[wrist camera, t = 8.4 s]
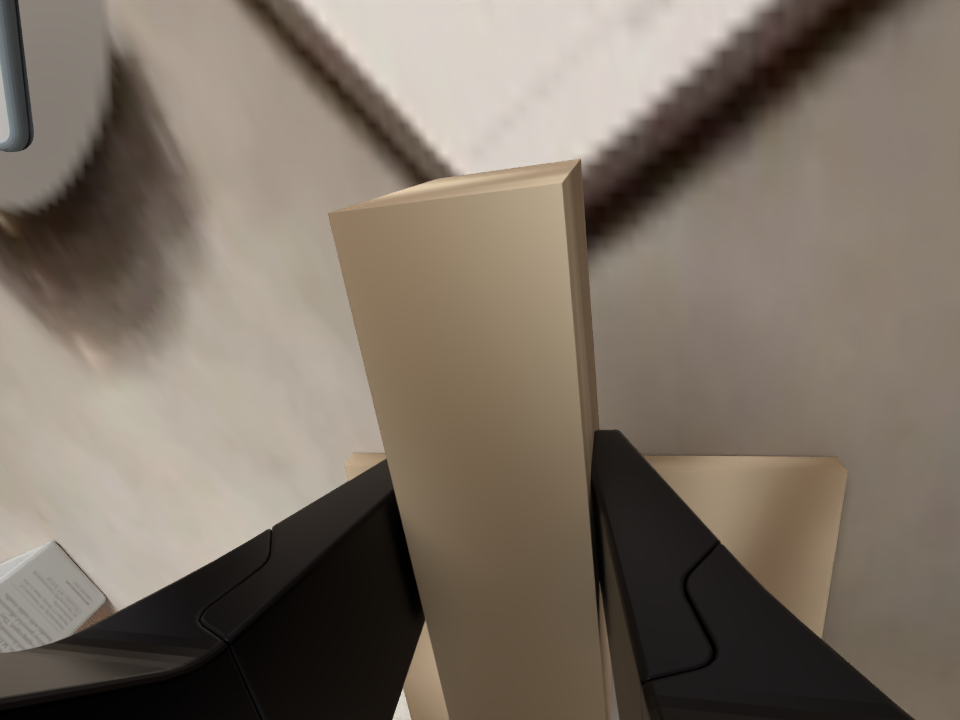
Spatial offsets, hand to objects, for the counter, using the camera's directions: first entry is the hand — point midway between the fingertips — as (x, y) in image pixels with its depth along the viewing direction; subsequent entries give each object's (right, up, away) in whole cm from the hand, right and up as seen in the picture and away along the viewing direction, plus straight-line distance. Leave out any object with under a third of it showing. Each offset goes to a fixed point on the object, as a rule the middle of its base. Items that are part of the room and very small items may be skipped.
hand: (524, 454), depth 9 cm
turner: (+1, -2, +2) cm, 3 cm away
